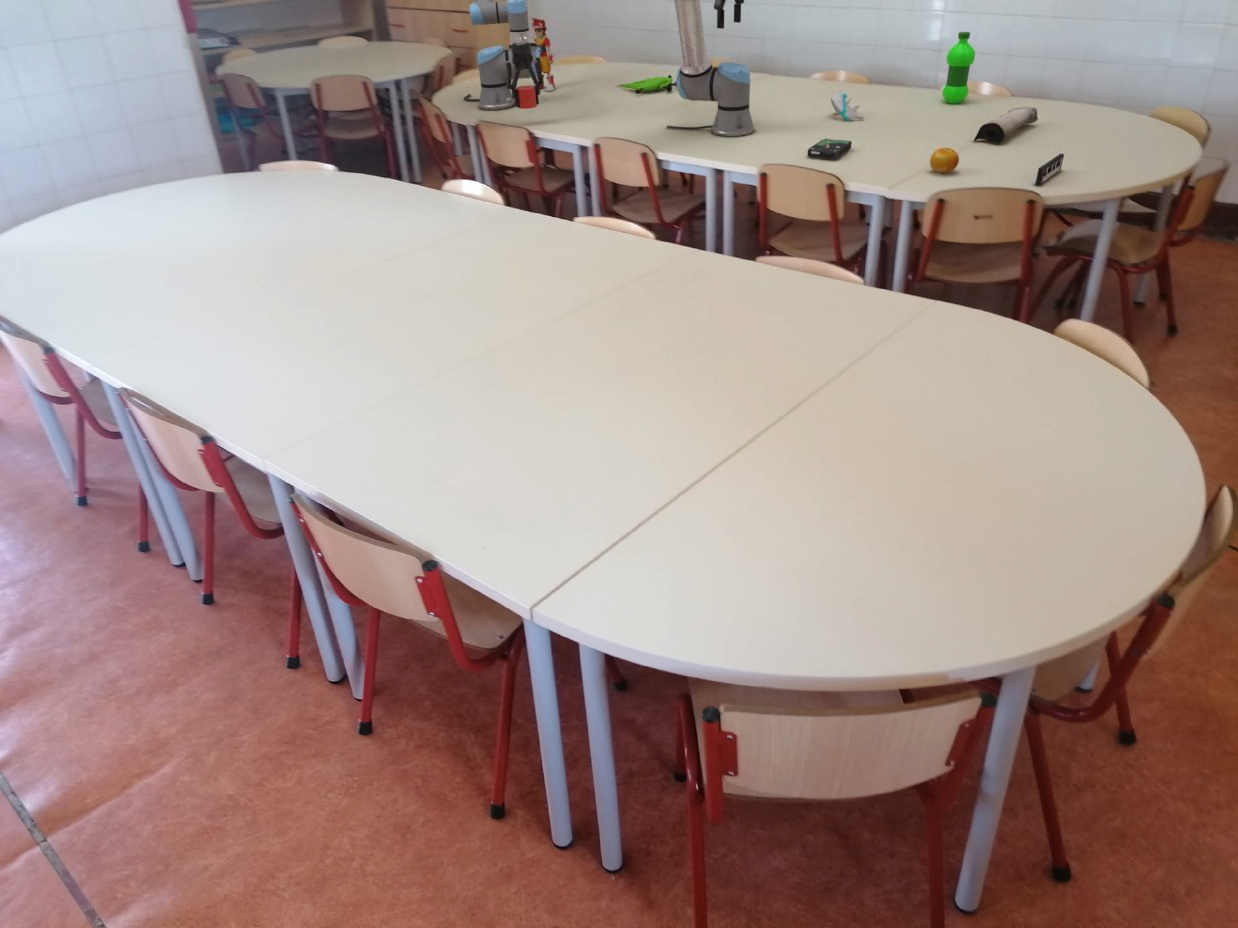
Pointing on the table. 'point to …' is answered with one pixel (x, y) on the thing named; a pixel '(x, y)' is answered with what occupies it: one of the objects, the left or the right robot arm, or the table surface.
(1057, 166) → the midi keyboard
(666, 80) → the toy
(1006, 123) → the rolled mat
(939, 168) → the fruit
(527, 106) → the canister
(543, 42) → the toy
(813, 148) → the disk drive
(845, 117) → the anatomical model
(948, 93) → the plastic bottle
